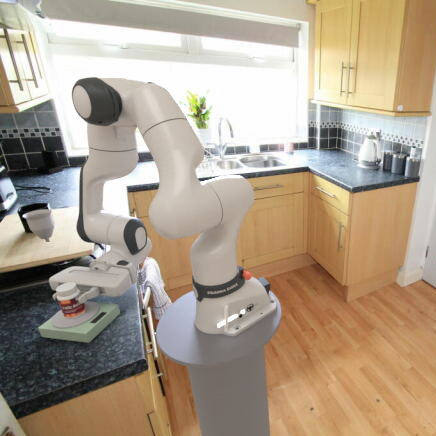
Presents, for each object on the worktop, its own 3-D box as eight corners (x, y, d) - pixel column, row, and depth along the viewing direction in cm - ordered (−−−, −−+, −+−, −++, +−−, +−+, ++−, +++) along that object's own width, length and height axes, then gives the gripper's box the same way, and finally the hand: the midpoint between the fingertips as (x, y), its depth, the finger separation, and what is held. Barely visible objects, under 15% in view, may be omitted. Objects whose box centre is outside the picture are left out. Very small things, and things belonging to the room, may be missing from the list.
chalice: (41, 267, 107) (22, 219, 100) (41, 259, 112) (22, 212, 105) (68, 261, 112) (51, 214, 104) (67, 253, 116) (51, 207, 109)
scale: (77, 308, 90) (74, 298, 88) (120, 313, 89) (117, 302, 87) (41, 337, 80) (36, 326, 78) (89, 342, 79) (85, 331, 77)
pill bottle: (65, 322, 80) (54, 295, 77) (63, 312, 83) (52, 285, 80) (88, 313, 83) (78, 287, 79) (85, 304, 86) (76, 278, 83)
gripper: (72, 257, 92) (25, 285, 80) (137, 263, 91) (100, 293, 78) (78, 275, 95) (33, 305, 82) (142, 282, 93) (106, 314, 81)
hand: (66, 299), depth 80 cm, fingers closed on pill bottle, 5 cm apart
